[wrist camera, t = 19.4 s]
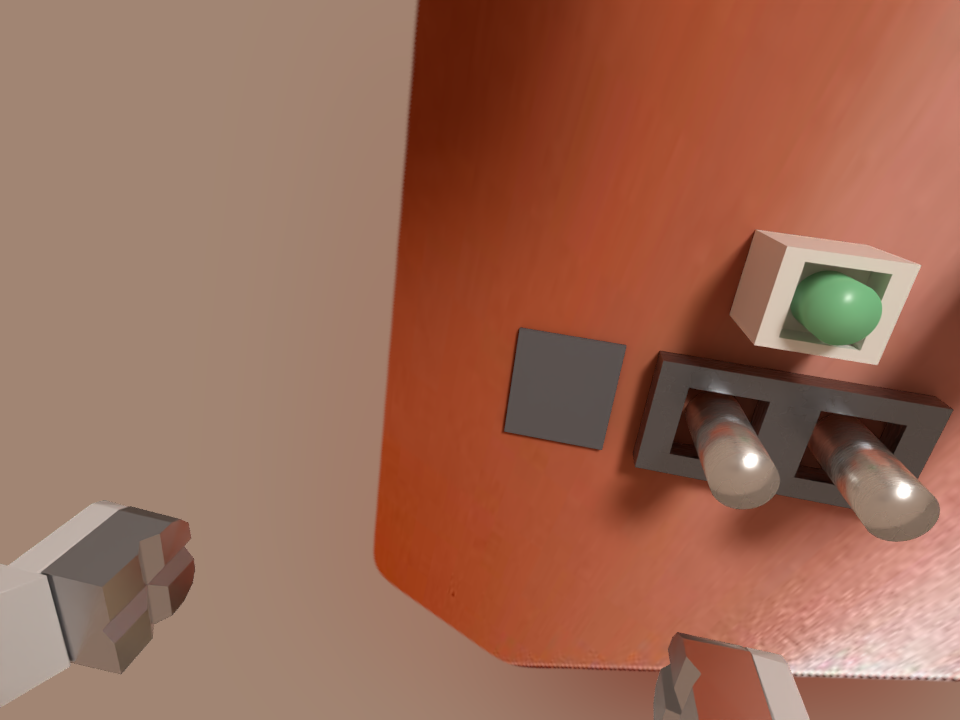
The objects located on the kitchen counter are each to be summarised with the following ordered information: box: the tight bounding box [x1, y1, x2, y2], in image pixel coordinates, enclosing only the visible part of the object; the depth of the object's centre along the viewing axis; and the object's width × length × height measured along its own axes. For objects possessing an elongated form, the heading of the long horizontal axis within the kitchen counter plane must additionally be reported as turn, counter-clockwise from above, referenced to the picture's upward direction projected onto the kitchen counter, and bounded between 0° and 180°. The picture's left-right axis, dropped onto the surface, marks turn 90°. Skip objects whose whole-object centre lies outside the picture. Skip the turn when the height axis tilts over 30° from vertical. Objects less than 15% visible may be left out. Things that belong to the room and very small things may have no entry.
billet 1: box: [685, 391, 780, 509], centre depth 37 cm, size 4×4×9 cm
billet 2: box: [807, 414, 940, 542], centre depth 36 cm, size 4×4×9 cm
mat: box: [504, 328, 626, 450], centre depth 43 cm, size 9×8×1 cm
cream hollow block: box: [729, 230, 921, 365], centre depth 34 cm, size 6×7×6 cm
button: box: [790, 270, 882, 346], centre depth 31 cm, size 4×4×3 cm
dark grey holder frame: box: [633, 351, 953, 509], centre depth 40 cm, size 9×19×2 cm, turn 84°
